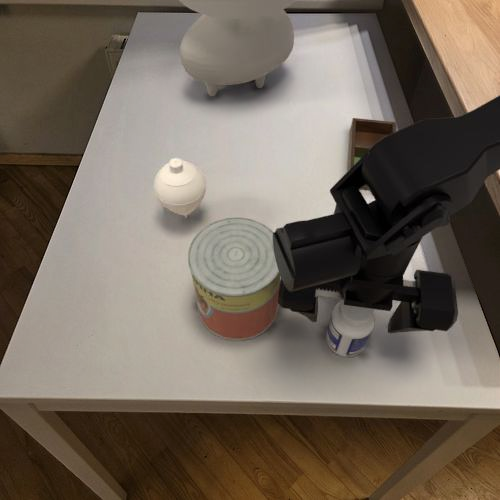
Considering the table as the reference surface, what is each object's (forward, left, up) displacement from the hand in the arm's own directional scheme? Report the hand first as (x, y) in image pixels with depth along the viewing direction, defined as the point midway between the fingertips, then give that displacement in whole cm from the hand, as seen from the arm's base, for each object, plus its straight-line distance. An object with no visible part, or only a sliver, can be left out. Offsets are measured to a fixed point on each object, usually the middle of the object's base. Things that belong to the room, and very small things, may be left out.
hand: (351, 324), depth 56 cm
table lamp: (+24, -53, -4) cm, 58 cm away
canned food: (+15, -3, -4) cm, 16 cm away
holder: (-3, -35, -4) cm, 35 cm away
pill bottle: (0, 0, -4) cm, 5 cm away
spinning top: (+26, -17, -4) cm, 31 cm away
